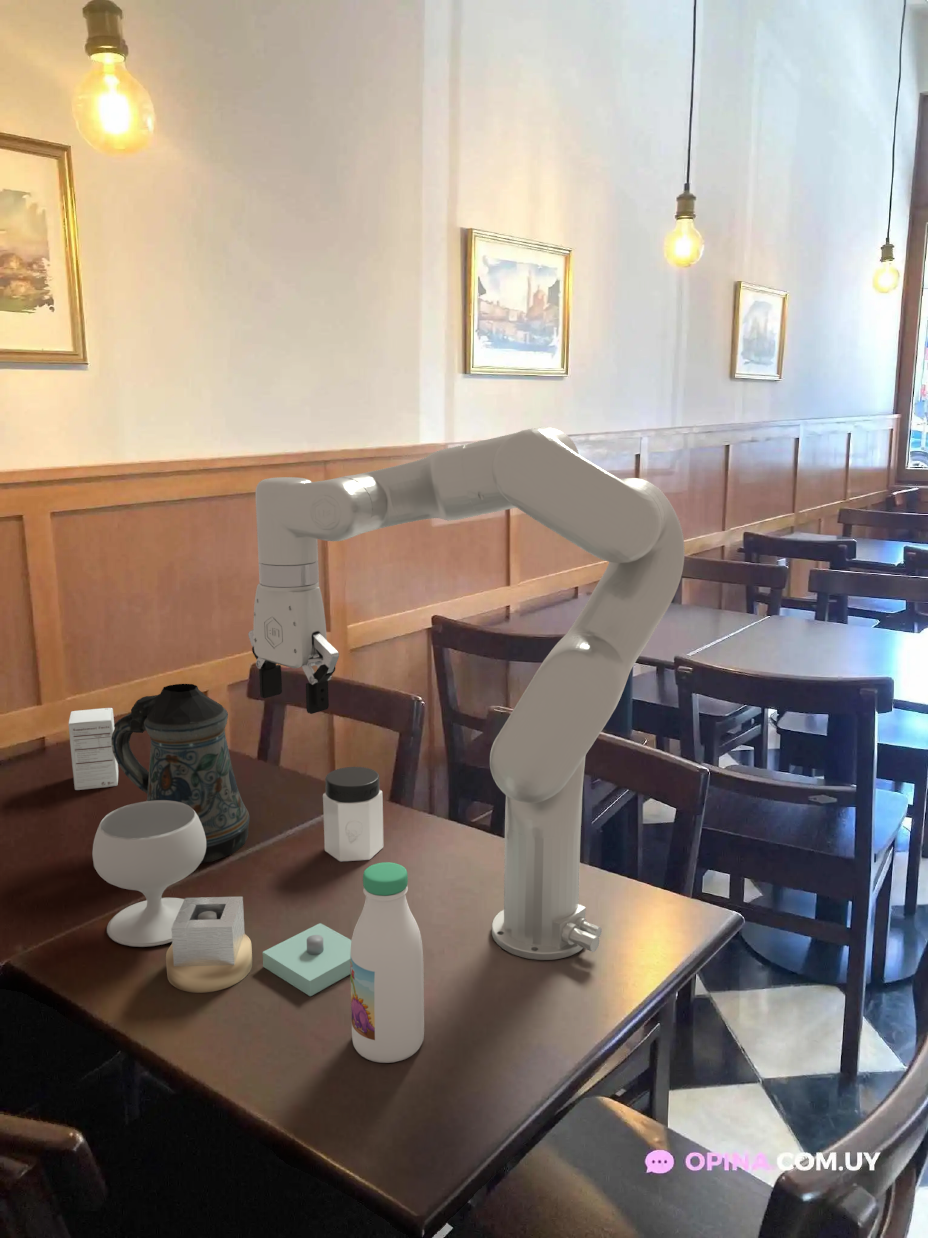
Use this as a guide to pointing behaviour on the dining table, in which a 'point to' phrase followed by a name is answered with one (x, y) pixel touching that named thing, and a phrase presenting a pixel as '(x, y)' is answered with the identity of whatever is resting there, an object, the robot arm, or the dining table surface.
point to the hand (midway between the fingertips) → (294, 703)
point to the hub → (210, 968)
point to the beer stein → (187, 762)
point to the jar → (353, 814)
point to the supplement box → (92, 748)
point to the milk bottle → (386, 970)
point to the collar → (208, 932)
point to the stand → (310, 959)
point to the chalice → (148, 864)
